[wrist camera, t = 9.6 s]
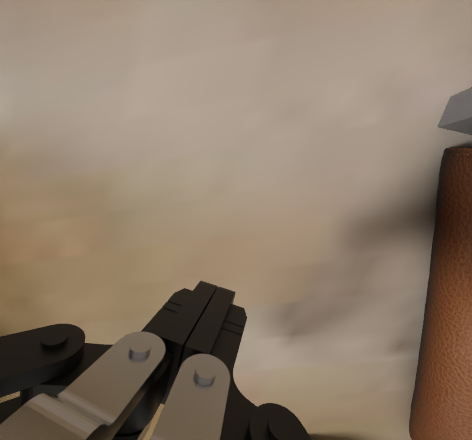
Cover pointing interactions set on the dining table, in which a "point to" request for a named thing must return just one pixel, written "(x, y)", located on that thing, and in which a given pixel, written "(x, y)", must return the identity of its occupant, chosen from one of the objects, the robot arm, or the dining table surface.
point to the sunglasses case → (447, 312)
